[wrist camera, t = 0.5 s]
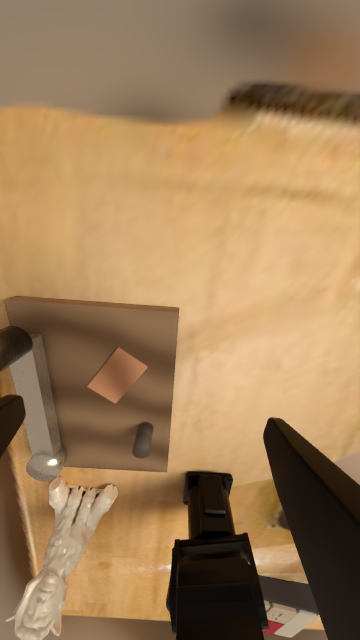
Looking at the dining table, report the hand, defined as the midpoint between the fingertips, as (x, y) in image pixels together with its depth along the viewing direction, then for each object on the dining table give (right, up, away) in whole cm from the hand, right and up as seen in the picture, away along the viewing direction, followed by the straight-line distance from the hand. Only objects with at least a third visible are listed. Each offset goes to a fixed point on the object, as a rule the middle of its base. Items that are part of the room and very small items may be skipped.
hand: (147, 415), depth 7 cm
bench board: (-8, -5, +16) cm, 19 cm away
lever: (-14, -5, +14) cm, 21 cm away
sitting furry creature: (-13, -23, +24) cm, 36 cm away
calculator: (+18, -51, +34) cm, 64 cm away
